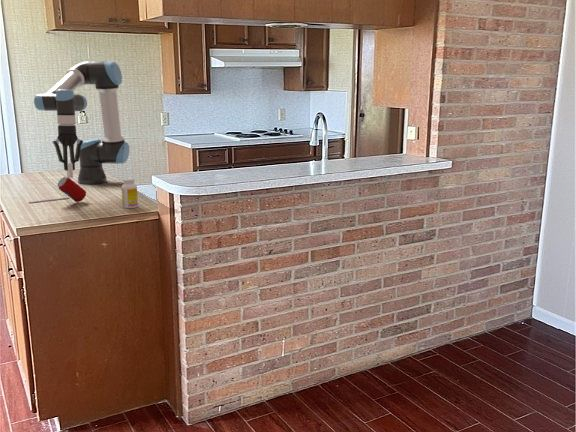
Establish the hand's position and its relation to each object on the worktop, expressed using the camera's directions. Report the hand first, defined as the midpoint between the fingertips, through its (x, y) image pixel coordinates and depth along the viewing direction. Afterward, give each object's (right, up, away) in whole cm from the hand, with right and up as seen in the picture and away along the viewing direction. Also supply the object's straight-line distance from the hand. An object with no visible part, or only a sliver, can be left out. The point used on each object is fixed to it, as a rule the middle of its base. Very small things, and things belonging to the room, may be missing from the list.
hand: (70, 177), depth 250 cm
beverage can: (+3, -9, +6) cm, 11 cm away
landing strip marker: (-13, -10, +9) cm, 19 cm away
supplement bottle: (+28, -14, -2) cm, 31 cm away
